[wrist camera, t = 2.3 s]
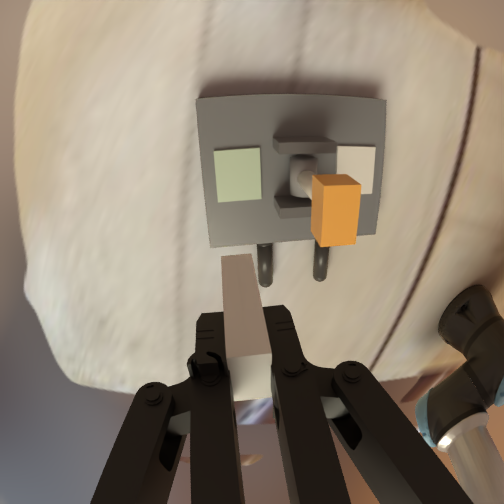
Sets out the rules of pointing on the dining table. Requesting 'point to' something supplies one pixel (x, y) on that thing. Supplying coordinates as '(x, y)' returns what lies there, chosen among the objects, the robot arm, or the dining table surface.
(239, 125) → the breaker box
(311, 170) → the breaker lever
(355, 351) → the dining table surface
